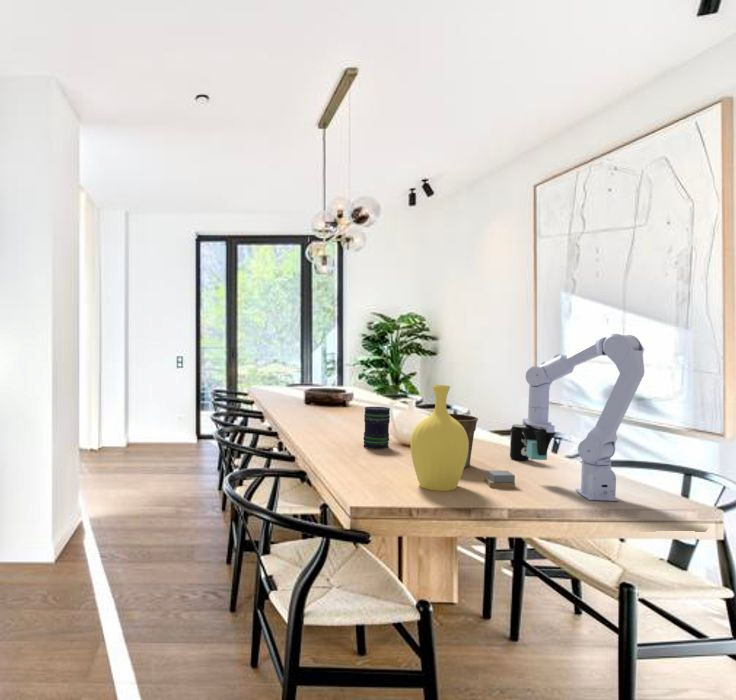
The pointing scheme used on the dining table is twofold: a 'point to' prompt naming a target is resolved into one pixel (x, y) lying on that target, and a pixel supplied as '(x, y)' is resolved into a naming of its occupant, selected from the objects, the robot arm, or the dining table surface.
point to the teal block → (534, 451)
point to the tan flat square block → (499, 484)
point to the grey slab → (500, 476)
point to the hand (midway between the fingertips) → (536, 453)
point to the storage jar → (376, 427)
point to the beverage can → (518, 444)
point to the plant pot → (467, 430)
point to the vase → (439, 447)
